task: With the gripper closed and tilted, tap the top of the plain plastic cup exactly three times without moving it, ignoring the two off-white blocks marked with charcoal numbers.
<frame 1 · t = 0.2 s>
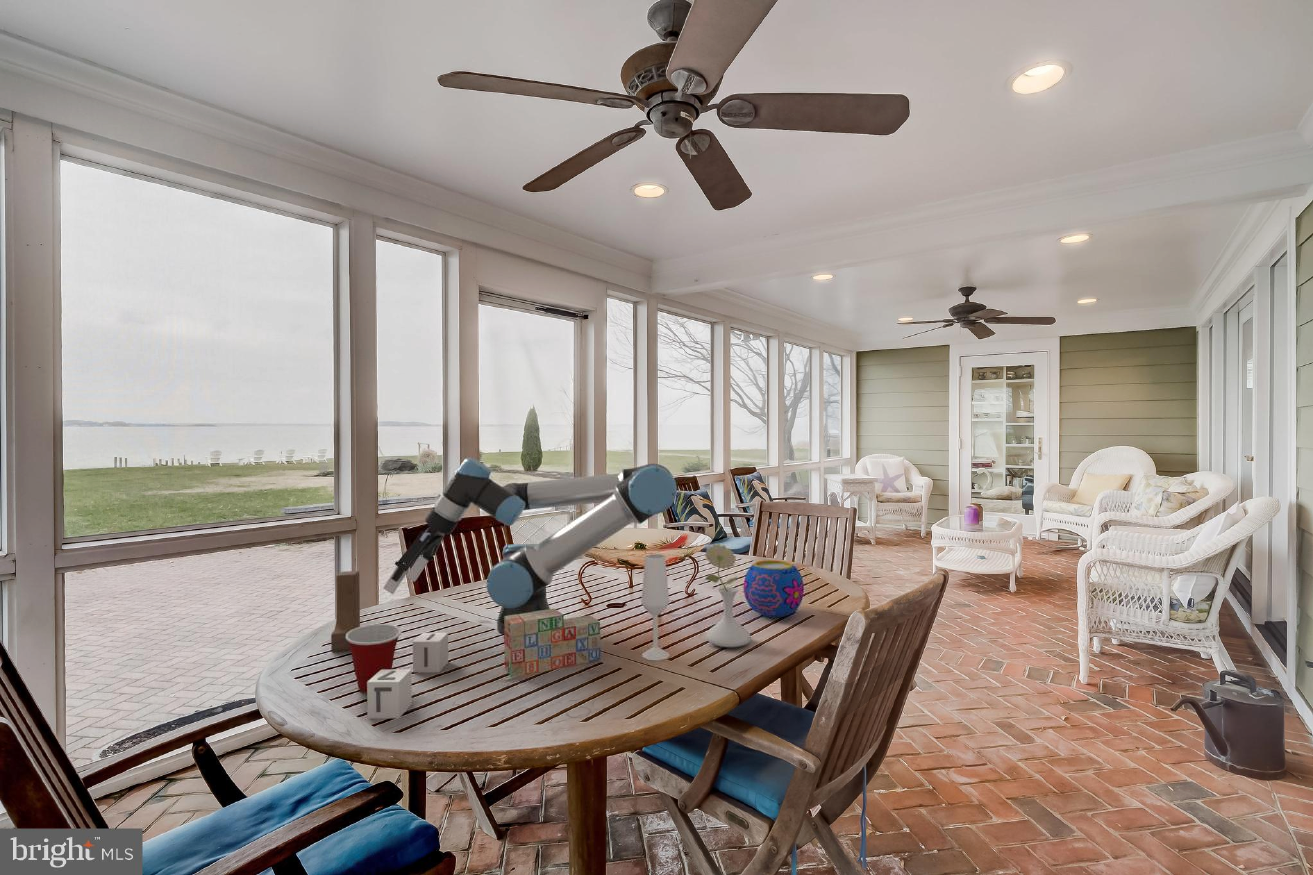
hand: (399, 584, 154), 16 cm above the table, tool tilted 35°, fingers open, 13 cm apart
marked block 7: (390, 711, 118), on the table
plastic cup: (374, 688, 129), on the table
stack of blocks: (553, 665, 141), on the table
champagne flute: (655, 655, 147), on the table
ceramic pot: (773, 615, 178), on the table
marked block 1: (431, 667, 140), on the table
wooden block: (346, 645, 155), on the table
flower in vase: (725, 643, 155), on the table
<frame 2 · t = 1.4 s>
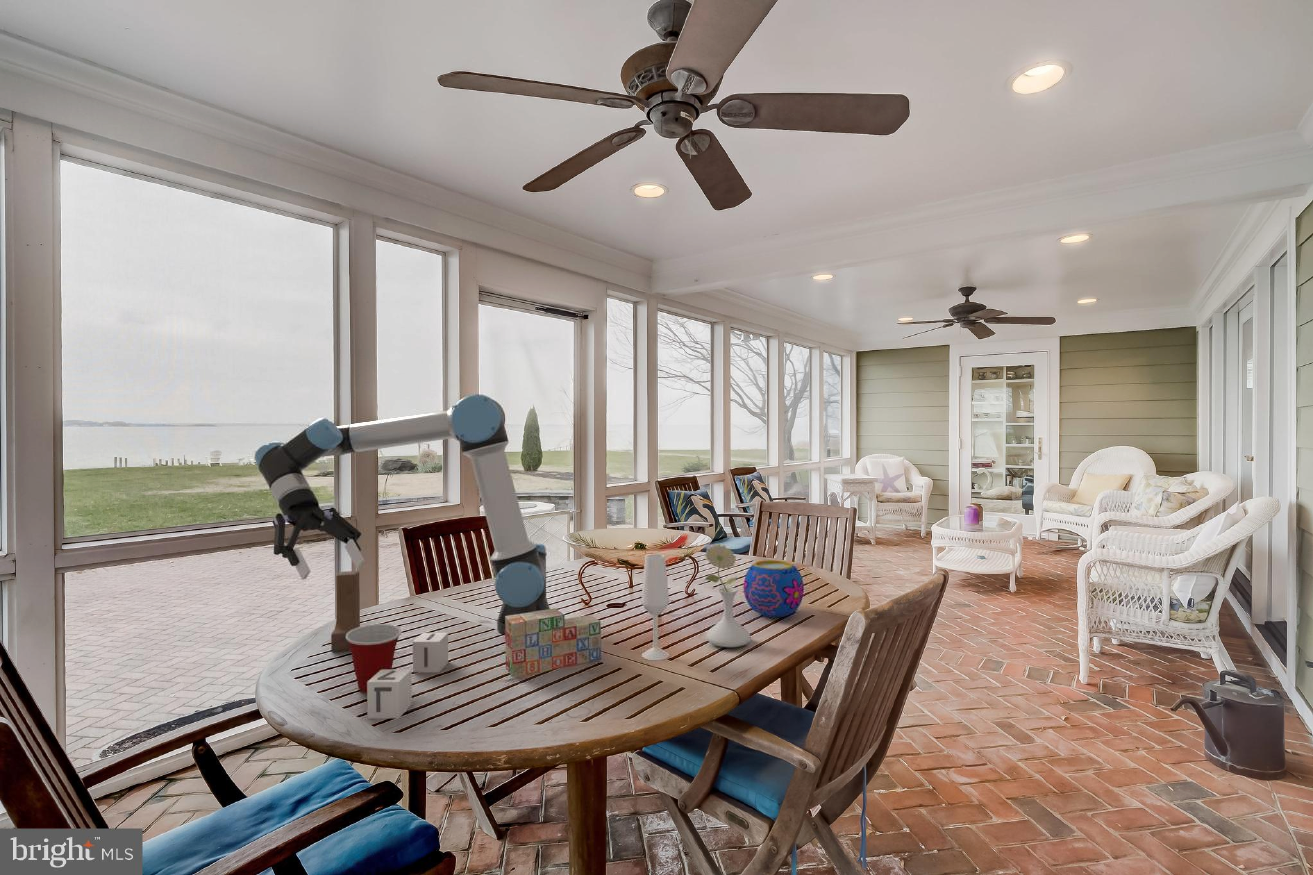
hand: (334, 569, 136), 24 cm above the table, tool tilted 45°, fingers open, 12 cm apart
nothing on the table moved.
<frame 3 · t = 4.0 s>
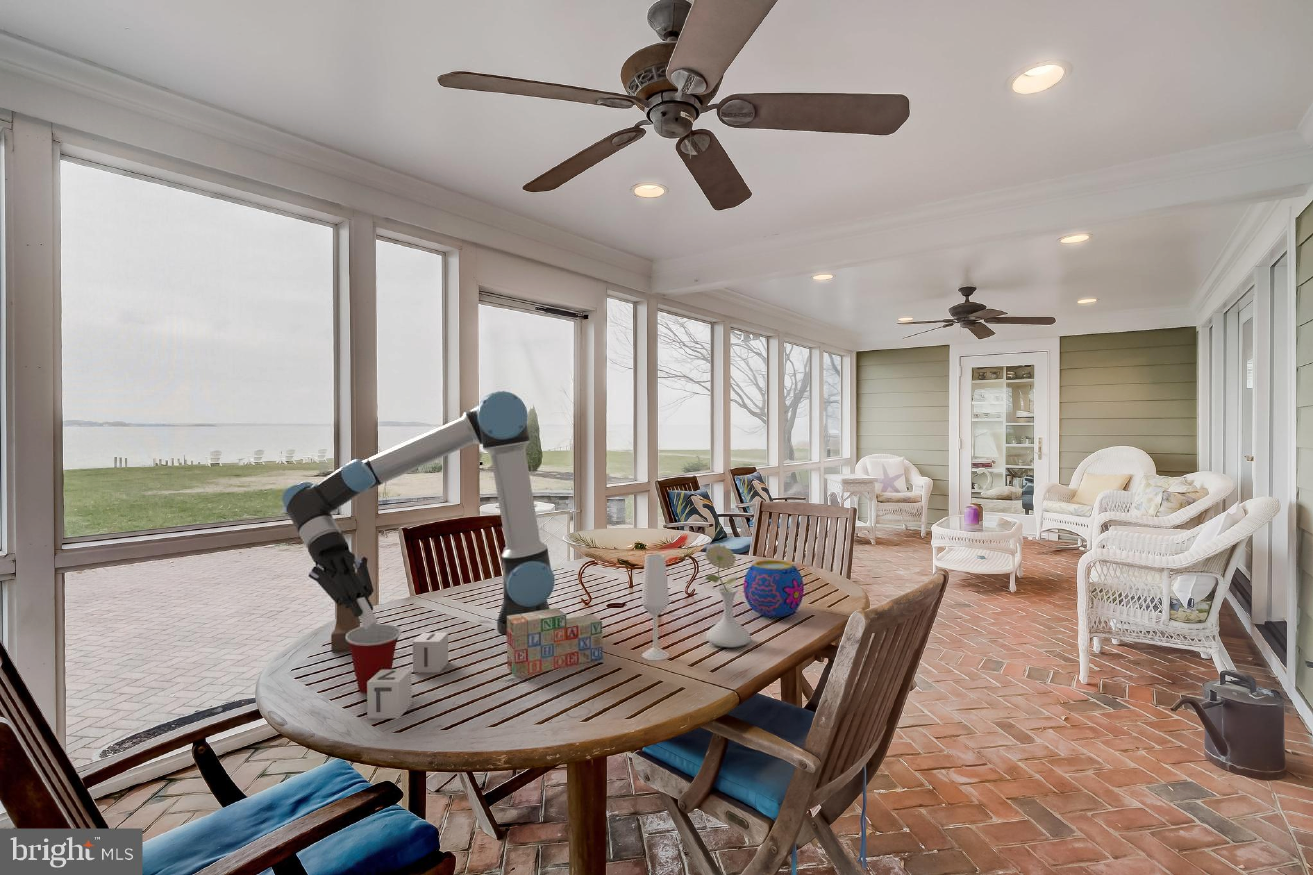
hand: (371, 626, 129), 13 cm above the table, tool tilted 45°, fingers closed
plastic cup: (374, 688, 129), on the table, touching gripper
everything else where it was.
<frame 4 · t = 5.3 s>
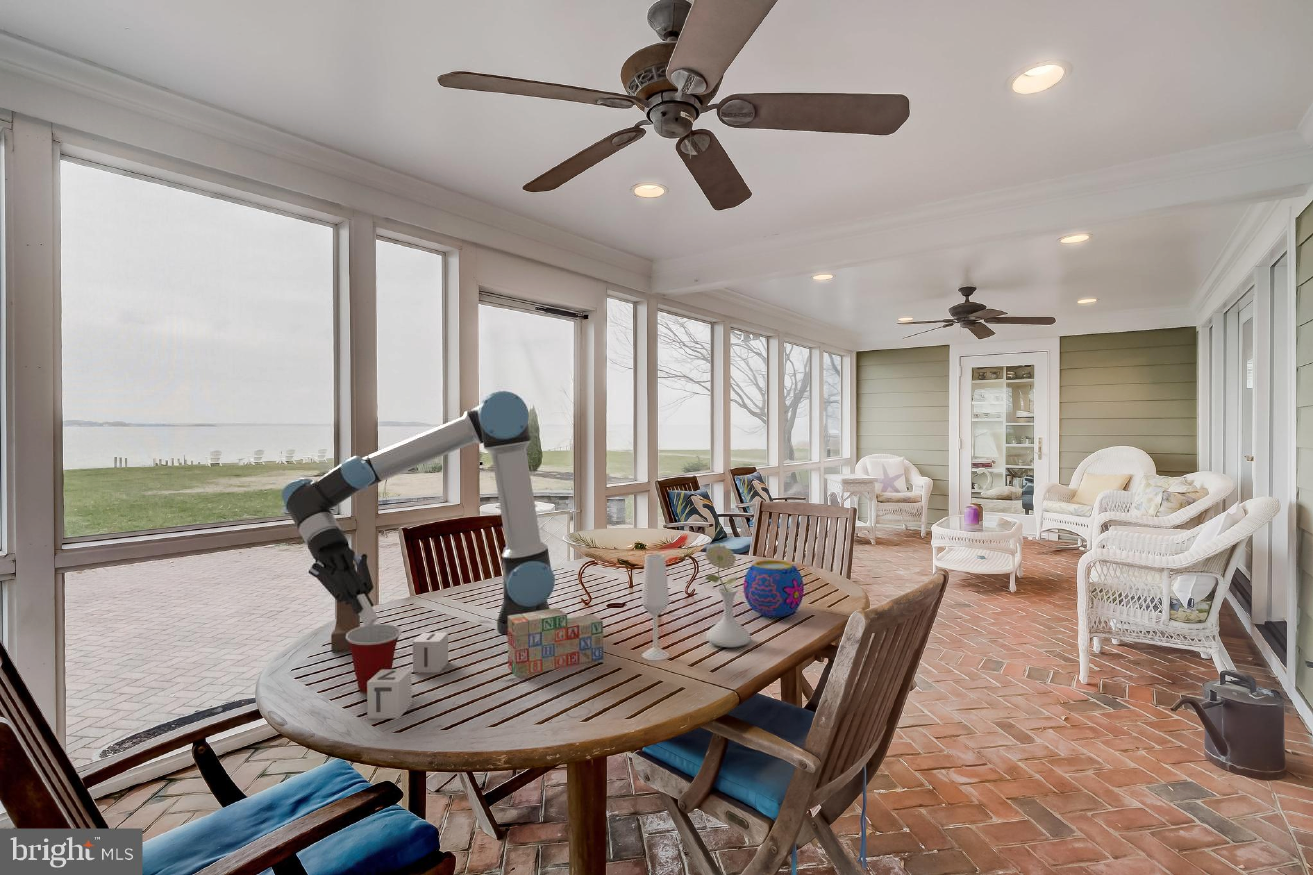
hand: (371, 622, 129), 14 cm above the table, tool tilted 45°, fingers closed
plastic cup: (374, 688, 129), on the table
everything else where it was.
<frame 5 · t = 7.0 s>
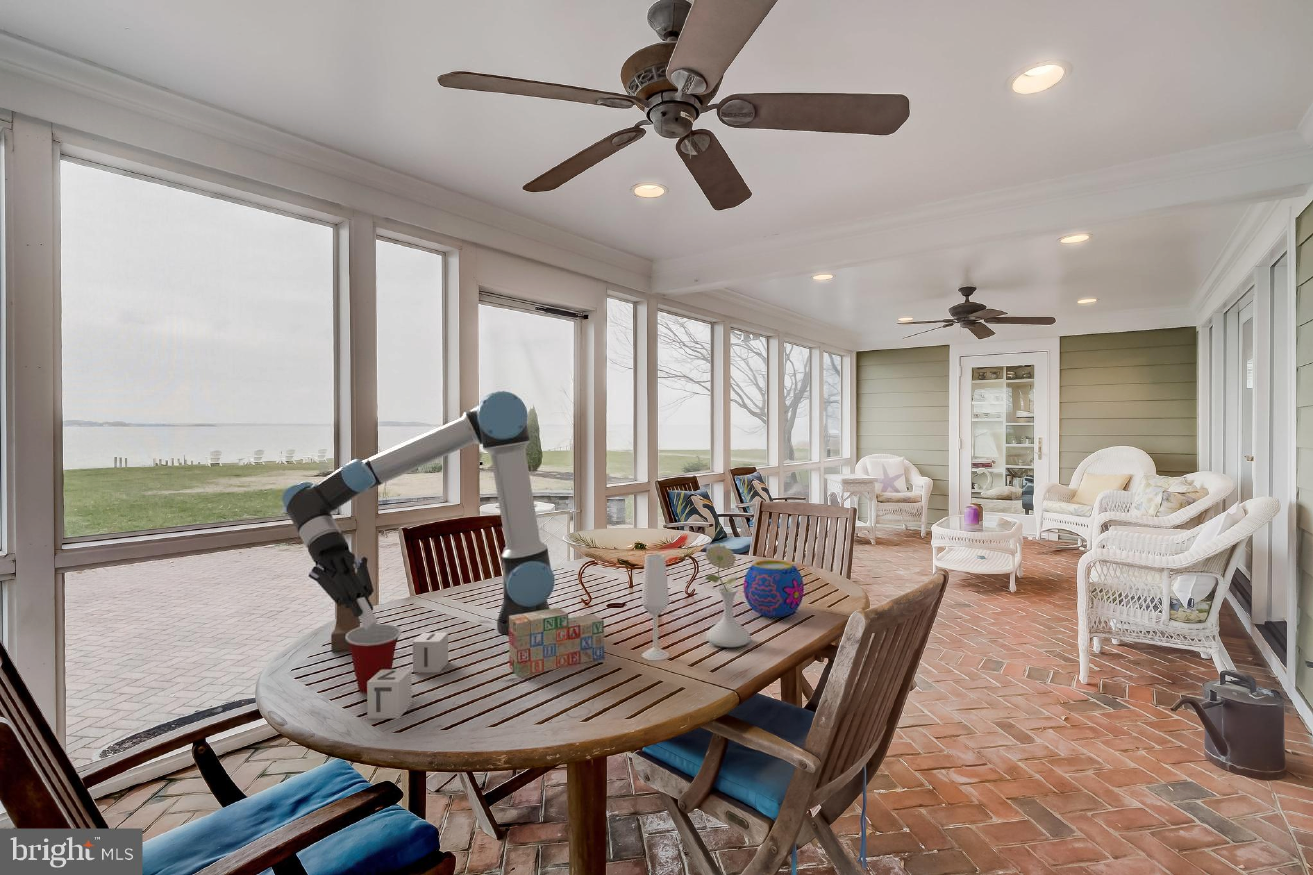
hand: (371, 626, 129), 13 cm above the table, tool tilted 45°, fingers closed
plastic cup: (374, 688, 129), on the table, touching gripper
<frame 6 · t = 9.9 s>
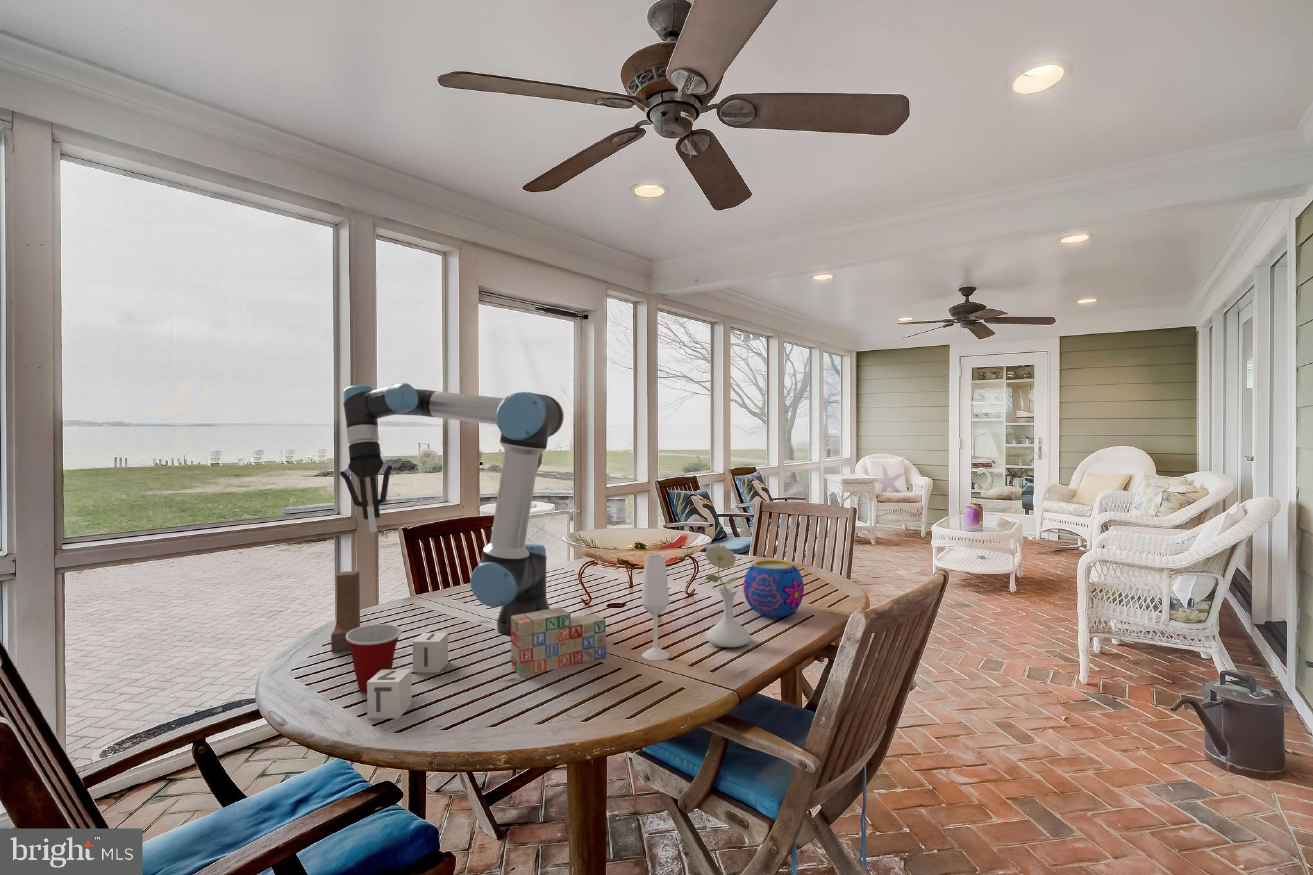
hand: (373, 531, 159), 28 cm above the table, tool pointing down, fingers closed
plastic cup: (374, 688, 129), on the table
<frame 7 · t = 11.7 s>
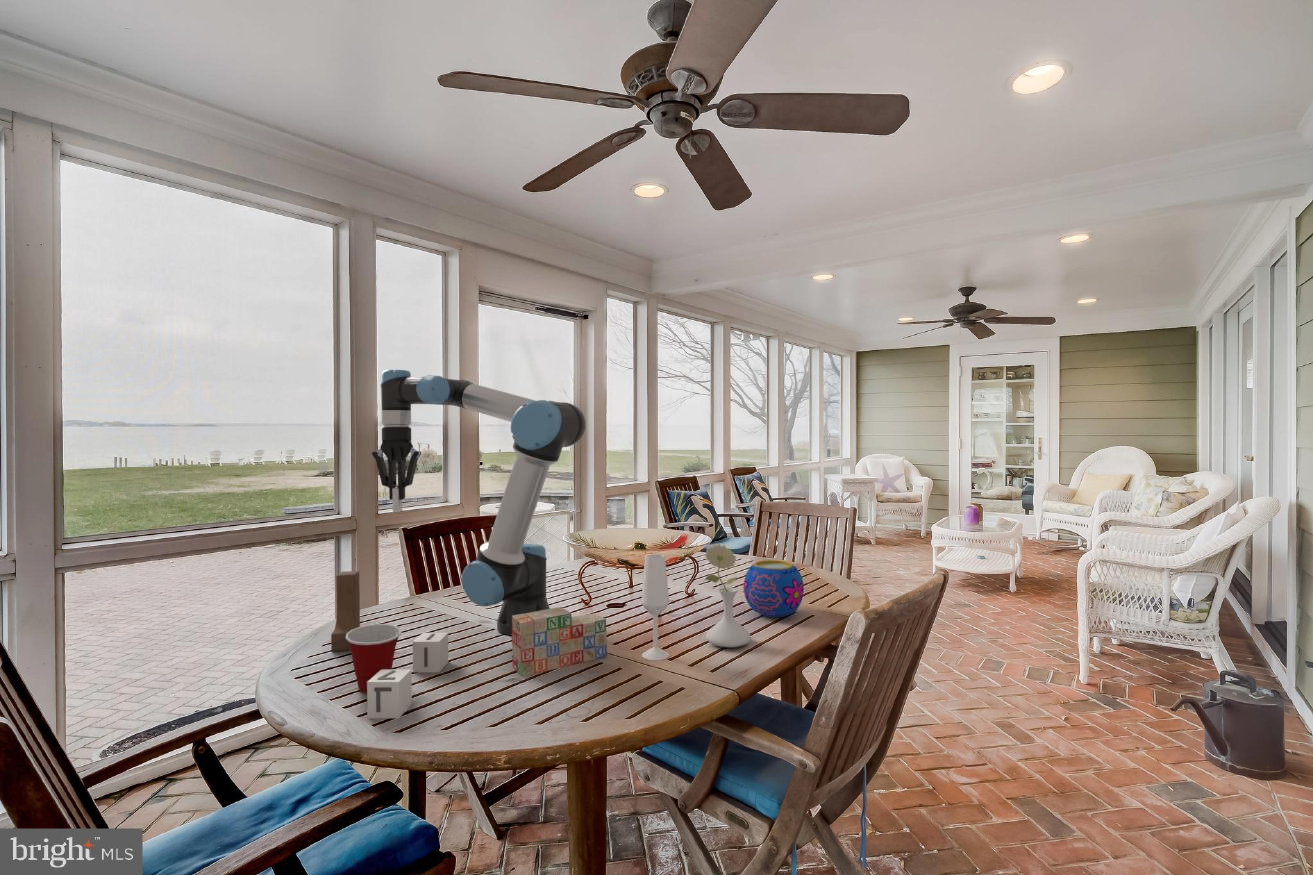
hand: (397, 511, 168), 32 cm above the table, tool pointing down, fingers closed
at the end: plastic cup moved 0.2 cm from its start; plastic cup tilted 0°; marked block 1 moved 0.1 cm from its start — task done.
